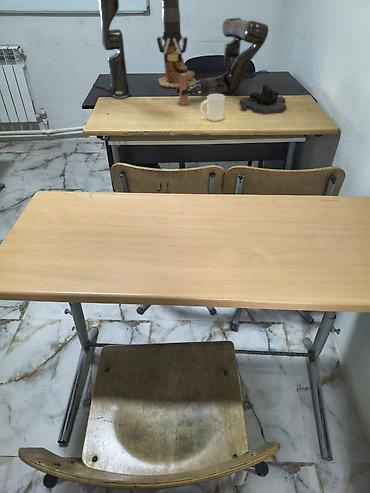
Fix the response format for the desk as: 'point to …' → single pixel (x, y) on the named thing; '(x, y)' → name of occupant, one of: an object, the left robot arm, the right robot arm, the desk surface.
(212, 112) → the mug
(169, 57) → the lid
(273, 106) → the abstract sculpture
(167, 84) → the sculpture
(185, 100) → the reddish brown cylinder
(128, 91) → the left robot arm
